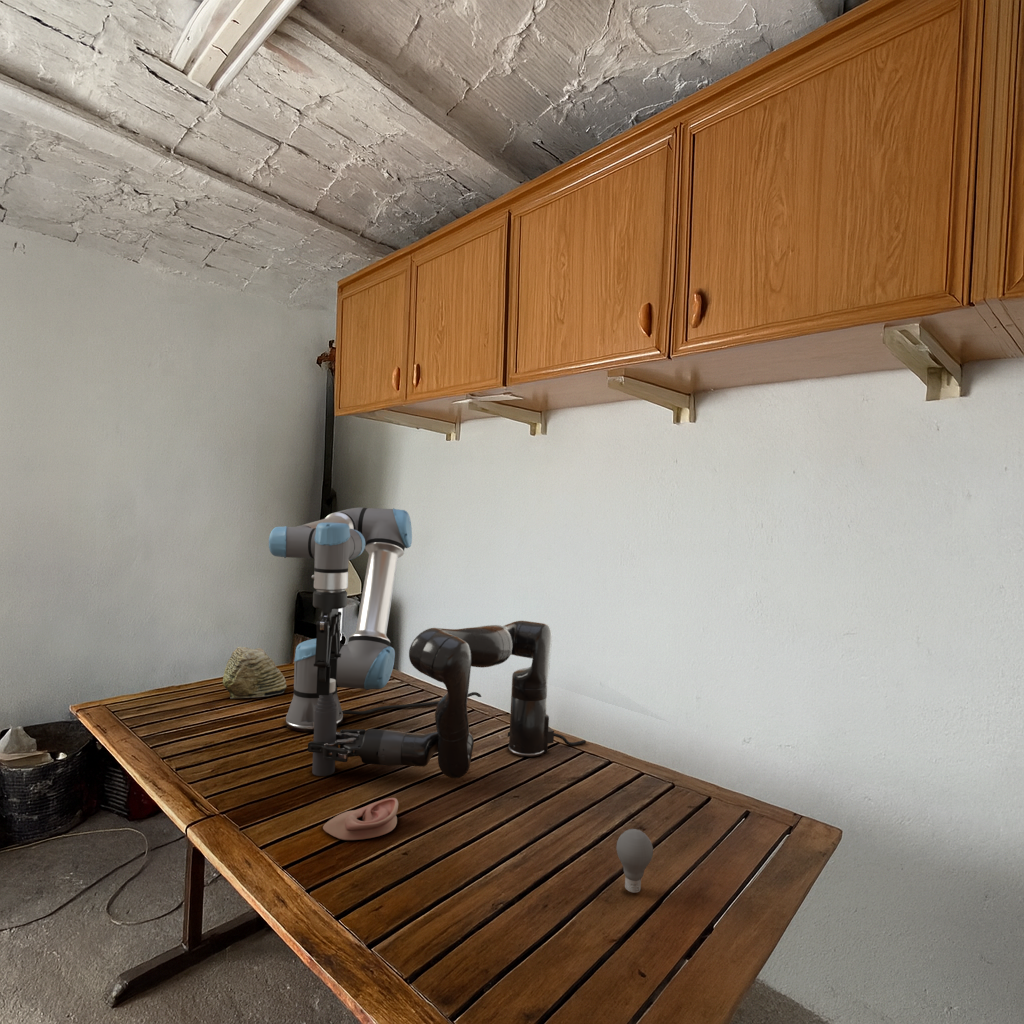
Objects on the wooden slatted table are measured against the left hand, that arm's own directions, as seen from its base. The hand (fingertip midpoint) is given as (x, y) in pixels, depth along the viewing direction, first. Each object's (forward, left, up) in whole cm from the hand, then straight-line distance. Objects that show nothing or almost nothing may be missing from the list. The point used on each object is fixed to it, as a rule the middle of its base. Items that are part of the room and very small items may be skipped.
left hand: (326, 690), depth 146 cm
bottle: (0, 0, -19) cm, 19 cm away
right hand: (+2, -2, -12) cm, 12 cm away
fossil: (-18, -62, -19) cm, 67 cm away
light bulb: (-8, +75, -19) cm, 78 cm away
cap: (0, 0, +2) cm, 2 cm away
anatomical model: (+9, +26, -19) cm, 33 cm away
